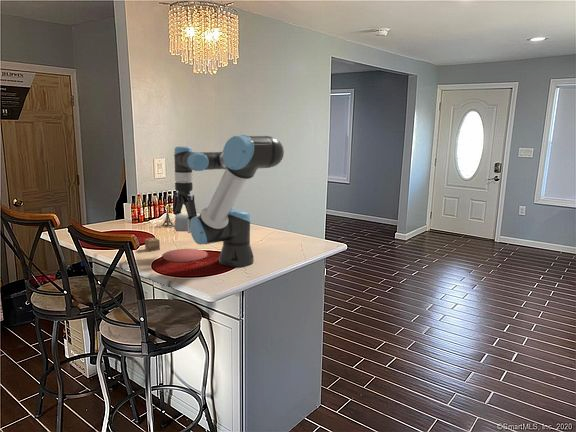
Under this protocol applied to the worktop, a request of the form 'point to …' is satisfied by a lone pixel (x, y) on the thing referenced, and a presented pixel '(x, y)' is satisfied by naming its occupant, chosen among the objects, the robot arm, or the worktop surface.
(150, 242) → the walnut cube
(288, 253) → the worktop surface
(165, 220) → the eiffel tower figurine
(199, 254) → the placemat
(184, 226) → the light grey block
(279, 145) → the robot arm
